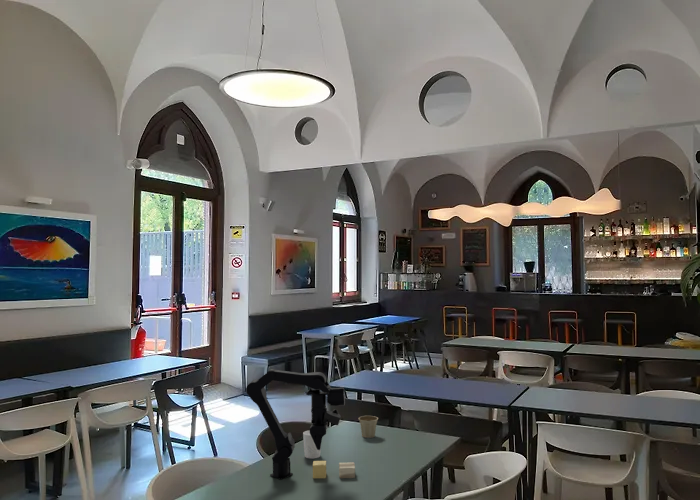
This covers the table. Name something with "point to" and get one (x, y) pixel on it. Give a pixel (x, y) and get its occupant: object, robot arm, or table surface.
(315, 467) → the ochre block
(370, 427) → the flower pot
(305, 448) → the white cup
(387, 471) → the table surface
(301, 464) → the table surface
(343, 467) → the birch base block
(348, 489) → the table surface
